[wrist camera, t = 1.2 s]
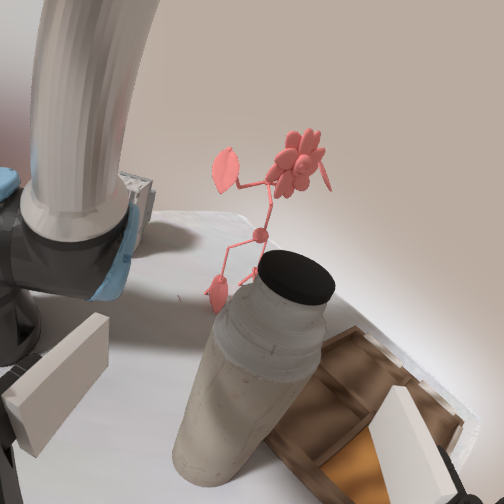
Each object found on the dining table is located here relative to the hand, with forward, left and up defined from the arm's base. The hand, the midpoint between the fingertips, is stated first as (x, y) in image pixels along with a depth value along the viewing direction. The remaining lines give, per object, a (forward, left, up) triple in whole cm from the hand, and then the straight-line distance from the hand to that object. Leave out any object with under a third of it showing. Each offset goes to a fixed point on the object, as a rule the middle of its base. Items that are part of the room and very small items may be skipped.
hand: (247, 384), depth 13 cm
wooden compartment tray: (+4, +31, -26) cm, 40 cm away
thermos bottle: (-4, +7, -26) cm, 27 cm away
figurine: (-26, +30, -26) cm, 48 cm away
